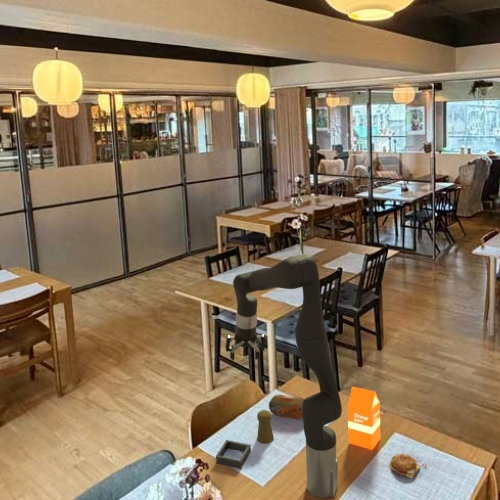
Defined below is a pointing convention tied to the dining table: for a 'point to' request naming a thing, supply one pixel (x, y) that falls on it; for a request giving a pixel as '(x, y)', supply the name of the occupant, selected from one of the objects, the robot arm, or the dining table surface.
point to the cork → (264, 427)
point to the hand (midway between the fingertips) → (244, 358)
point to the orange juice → (364, 418)
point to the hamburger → (405, 465)
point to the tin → (286, 406)
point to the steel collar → (231, 461)
